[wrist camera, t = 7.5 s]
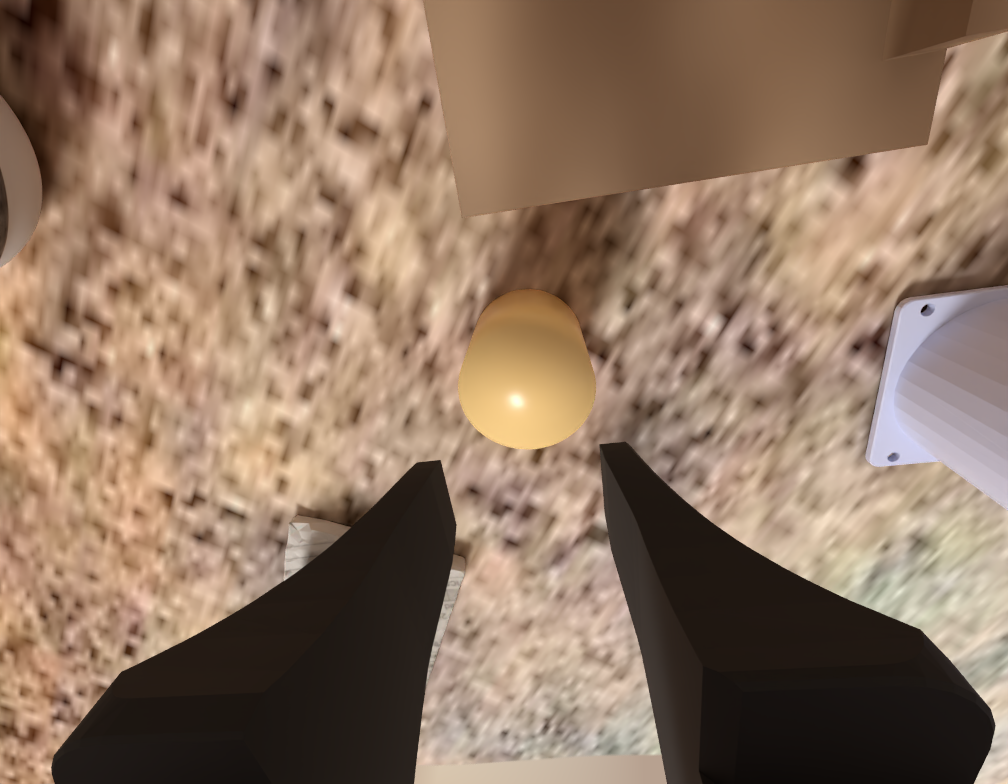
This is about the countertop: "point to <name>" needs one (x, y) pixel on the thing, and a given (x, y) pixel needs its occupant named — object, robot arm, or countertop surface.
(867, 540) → the countertop surface
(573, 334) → the cream bullet-shaped knob
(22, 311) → the countertop surface
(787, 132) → the lid
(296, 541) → the packaged product
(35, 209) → the black egg-shaped device
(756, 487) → the countertop surface
